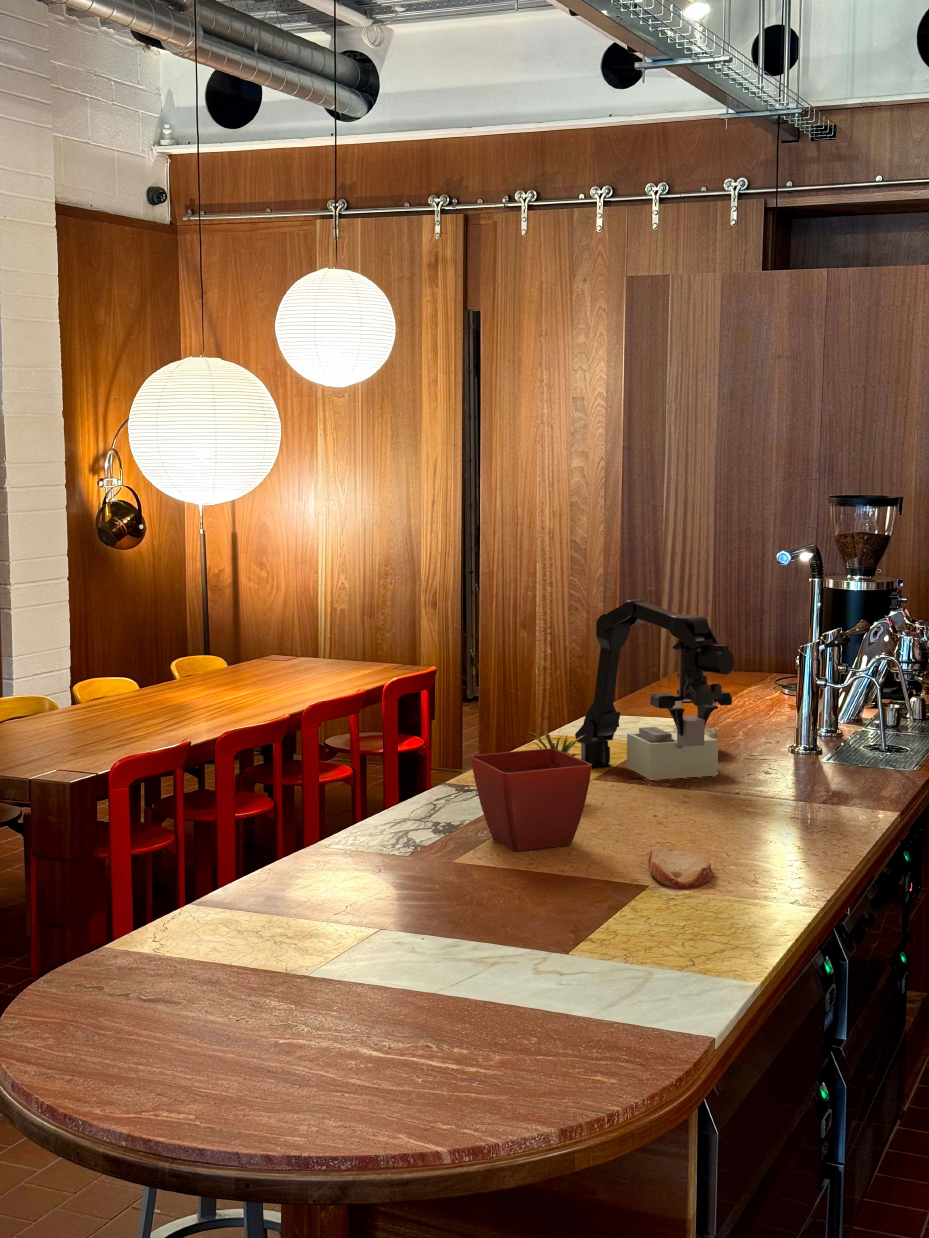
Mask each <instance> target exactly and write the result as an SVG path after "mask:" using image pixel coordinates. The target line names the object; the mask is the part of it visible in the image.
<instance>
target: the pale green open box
mask: <svg viewBox="0 0 929 1238" xmlns="http://www.w3.org/2000/svg"><path fill="white" fill-rule="evenodd" d="M665 731H666V732H668V733H672V732H677V730H676V731H673V730H665ZM718 766H719V740H718V738H717V739H708V740H704V745H702V746H685V745H683V744H681V743H678V742H677V741H676V742H661V743H650V742H648V741H646V740H644V739H642V738H640V737H639V732H631V733H629V732H628V733H626V768H627V767H628V768H630V769H631V770H633V771H635V772H637V773H639V774H640V775H643V776H644V777H646V778H647V779H649V780H650V779H669V778H684V779H687V778H686V777H698V778H703V777H702V776H712V777H715V776H714V775H718V776H719V772H718V771H719V767H718ZM647 779H646V780H647ZM649 780H648V781H649Z"/></svg>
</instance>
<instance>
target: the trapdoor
mask: <svg viewBox="0 0 929 1238" xmlns="http://www.w3.org/2000/svg"><path fill="white" fill-rule="evenodd" d="M666 731H667V730H664V729H661V728H659V727H657V726H648V727H646V726H645V727H639V728H638V733H639V737H640V738H642V739H644V740H646V741H648V742H650V743H661V742H676V741H677V732H672V733H668V732H666ZM708 739H714V738H711V737H709V736H707V735H704V740H708Z"/></svg>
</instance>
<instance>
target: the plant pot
mask: <svg viewBox="0 0 929 1238" xmlns="http://www.w3.org/2000/svg"><path fill="white" fill-rule="evenodd" d="M560 750H561V749H558V750H557V749H553V748H550V747H549V748H548V749H545V748H542V749H540V748H536V749H526V750H515V751H504V752H496V753H495V752H494V753H486V754H475V755H470V760H471V767H472V772H473V778H474V784H475V787H476V791H477V795H478V799H479V803H480V807H481V811H482V813H483V815H484V819H485V822H486V825H487V827H488V829H489V830H488V831H489V833H490V836H491V837H492V838H493V839H494V840H496V841H497V840H498V841H497V842H499V843H500V844H502V845H504V846H505V847H507V848H508V849H510V850H512V851H514V852H521V851H528V850H529V849H530V850H537V849H544V848H545V849H546V848H547V847H548V848H553V847H555V846H556V847H563V845H565V846H569V845H572V843H573V841H574V838H575V836H576V833H577V831H578V827H579V825H580V822H581V819H582V815H583V812H584V807H585V804H586V800H587V797H588V793H589V792H588V791H589V787H590V781H591V775H592V768H593V767H592V764H590V763H588V762H585V761H583V760H581V758H579V757H576V756H571V755H569V754H570V753H569V754H567V753H564V752H562V751H560ZM548 848H547V849H548Z"/></svg>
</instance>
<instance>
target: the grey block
mask: <svg viewBox="0 0 929 1238" xmlns="http://www.w3.org/2000/svg"><path fill="white" fill-rule="evenodd" d="M705 728H706V725H705V720H703V719H701V718H698V716H696V715H692V716H691V715H690V716H689V715H688V716H683V736H680V735H679V733H678V730H677V742H678V743H681V744H683V745H685V746H702V745H704V732H705Z"/></svg>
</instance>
